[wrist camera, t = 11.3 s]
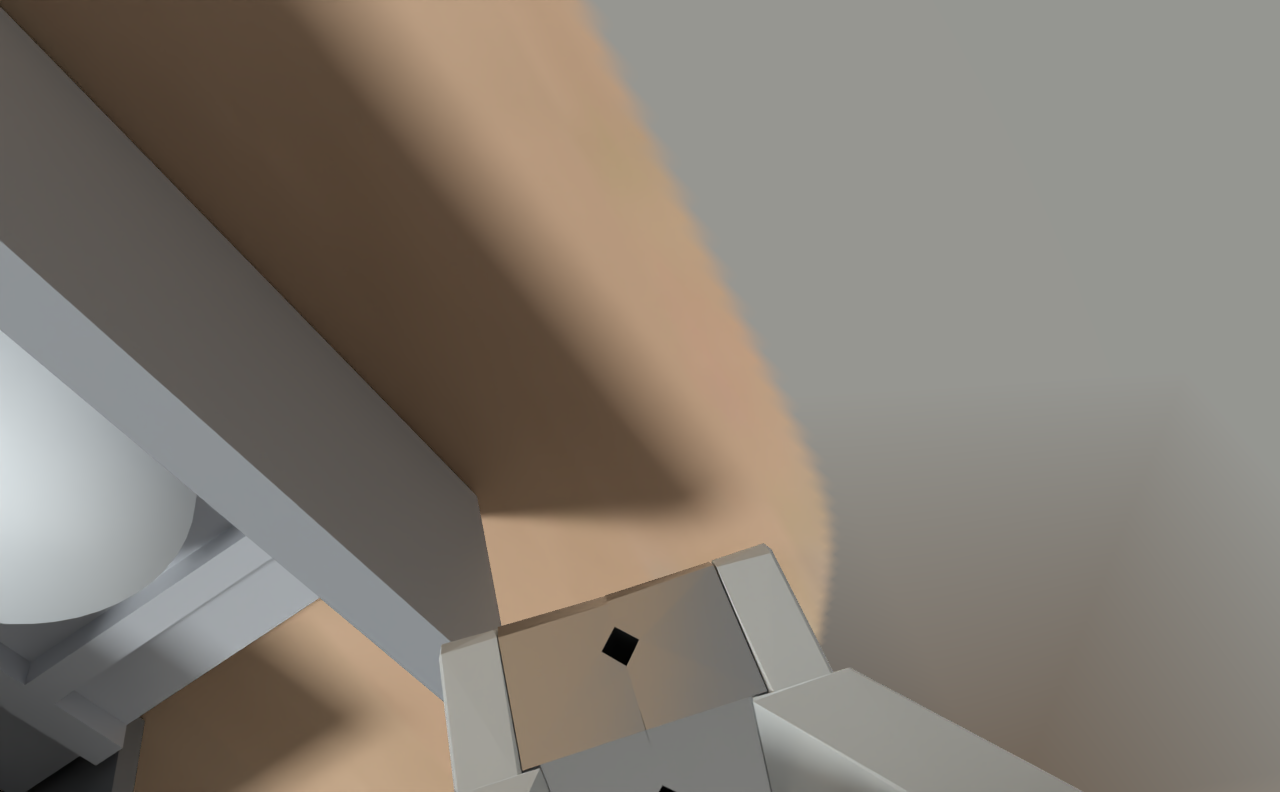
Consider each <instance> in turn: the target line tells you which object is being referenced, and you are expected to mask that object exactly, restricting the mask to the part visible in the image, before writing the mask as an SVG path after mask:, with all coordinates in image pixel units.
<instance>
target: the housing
mask: <svg viewBox="0 0 1280 792" xmlns="http://www.w3.org/2000/svg"><path fill="white" fill-rule="evenodd" d="M144 723H145V721H144V720H143V719H141V718H140V717H138V718H137V719H135V720H134V721H132V722H130V723H129V724H127V726H126V732H125V737H124V743H123V748H122V749H120V750H119V751H117V752H116V753H114V754H113V755H111V756H110V757H108V758H107V759H105V760H104V761H102V762H101V763H99V764H98V765H96V766H95V765H94V764H92V763H91V762H89V761H87V760H86V759H84V758H83V757H81V756H79V757H77V758H76V759H74V760H73V761H71V762H70V763H68V764H67V765H65V766H64V767H62V768H61V769H59V770H58V771H56V772H55V773H53V774H52V775H50V776H49V777H47V778H46V779H44V780H43V781H41V782H40V783H38V784H37V785H35V786H34V787H32V788H30V789H29V790H27V791H26V792H133V791H134V785H135V779H136V773H137V767H138V760H139V754H140V748H141V742H142V735H143V729H144ZM2 792H4V791H2Z"/></svg>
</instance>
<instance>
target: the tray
mask: <svg viewBox="0 0 1280 792" xmlns="http://www.w3.org/2000/svg"><path fill="white" fill-rule="evenodd" d="M0 330H1V331H2V332H3V333H5V334H6V335H7V336H8V337H9V338H11V339H12V340H13V341H14V342H15V343H16V344H18V345H19V346H20V347H21V348H22V349H24V350H25V351H26V352H27V353H28V354H30V355H31V356H32V357H33V358H34V359H36V360H37V361H38V362H39V363H40V364H42V365H43V366H44V367H45V368H46V369H47V370H49V371H50V372H51V373H52V374H53V375H55V376H56V377H57V378H58V379H59V380H61V381H62V382H63V383H64V384H65V385H67V386H68V387H69V388H70V389H71V390H73V391H74V392H75V393H76V394H77V395H78V396H80V397H81V398H82V399H83V400H84V401H86V402H87V403H88V404H89V405H90V406H92V407H93V408H94V409H95V410H96V411H98V412H99V413H100V414H101V415H102V416H104V417H105V418H106V419H107V420H108V421H110V422H111V423H112V424H113V425H114V426H115V427H117V428H118V429H119V430H120V431H121V432H123V433H124V434H125V435H126V436H127V437H129V438H130V439H131V440H132V441H133V442H135V443H136V444H137V445H138V446H139V447H141V448H142V449H143V450H144V451H145V452H146V453H148V454H149V455H150V456H151V457H152V458H154V459H155V460H156V461H157V462H158V463H160V464H161V465H162V466H163V467H164V468H166V469H167V470H168V471H169V472H170V473H172V474H173V475H174V476H175V477H176V478H177V479H179V480H180V481H181V482H182V483H183V484H185V485H186V486H187V487H188V488H189V489H191V490H192V491H193V492H194V493H195V494H197V497H196V503H195V509H194V515H193V520H192V524H191V527H190V530H189V532H188V535H187V538H186V540H185V542H184V544H183V545H182V547H181V549H180V551H179V552H178V554H177V555H176V557H175V558H174V559H173V561H172V562H171V563H170V564H169V566H168V567H167V568H166V569H165V570H164V571H163V572H162V573H161V574H160V575H159V576H158V577H157V578H156V579H155V580H154V581H153V582H151V583H150V584H149V585H147V586H146V587H144V588H143V589H142V590H140V591H139V592H138V593H136V594H134V595H132V596H131V597H129V598H127V599H125V600H123V601H122V602H120V603H118V604H115V605H113V606H110V607H108V608H106V609H103V610H101V611H98V612H95V613H91V614H88V615H85V616H81V617H78V618H72V619H67V620H62V621H57V622H47V623H37V624H3V623H0V789H1V790H3V791H4V792H26V791H27V790H29V789H30V788H32V787H34V786H35V785H37V784H38V783H40V782H41V781H43V780H44V779H46V778H47V777H49V776H50V775H52V774H53V773H55V772H56V771H58V770H59V769H61V768H62V767H64V766H65V765H67V764H68V763H70V762H71V761H73V760H74V759H76V758H77V757H79V756H81V757H83V758H84V759H86V760H87V761H89V762H91V763H92V764H94V765H95V766H96V765H98V764H99V763H101V762H102V761H104V760H105V759H107V758H108V757H110V756H111V755H113V754H114V753H116V752H117V751H119V750H120V749H122V748H123V743H124V737H125V732H126V726H127V724H129V723H130V722H132V721H134V720H135V719H137V718H138V717H140V716H141V715H143V714H144V713H146V712H147V711H149V710H150V709H152V708H153V707H155V706H156V705H158V704H159V703H161V702H162V701H164V700H165V699H167V698H168V697H170V696H171V695H173V694H174V693H176V692H177V691H179V690H180V689H182V688H183V687H185V686H187V685H188V684H190V683H191V682H193V681H194V680H196V679H197V678H199V677H200V676H202V675H203V674H205V673H206V672H208V671H209V670H211V669H212V668H214V667H215V666H217V665H218V664H220V663H221V662H223V661H224V660H226V659H227V658H229V657H230V656H232V655H233V654H235V653H237V652H238V651H240V650H241V649H243V648H244V647H246V646H247V645H249V644H250V643H252V642H253V641H255V640H256V639H258V638H259V637H261V636H262V635H264V634H265V633H267V632H268V631H270V630H271V629H273V628H274V627H276V626H277V625H279V624H280V623H282V622H283V621H285V620H287V619H288V618H290V617H291V616H293V615H294V614H296V613H297V612H299V611H300V610H302V609H303V608H305V607H306V606H308V605H309V604H311V603H312V602H314V601H315V600H317V599H318V598H321V599H322V600H323V601H324V602H325V603H327V604H328V605H329V606H330V607H331V608H333V609H334V610H335V611H336V612H337V613H339V614H340V615H341V616H342V617H343V618H344V619H346V620H347V621H348V622H349V623H350V624H352V625H353V626H354V627H355V628H356V629H358V630H359V631H360V632H361V633H362V634H364V635H365V636H366V637H367V638H368V639H370V640H371V641H372V642H373V643H374V644H376V645H377V646H378V647H379V648H380V649H381V650H383V651H384V652H385V653H386V654H387V655H389V656H390V657H391V658H392V659H393V660H395V661H396V662H397V663H398V664H399V665H401V666H402V667H403V668H404V669H405V670H407V671H408V672H409V673H410V674H411V675H412V676H414V677H415V678H416V679H417V680H418V681H420V682H421V683H422V684H423V685H424V686H426V687H427V688H428V689H429V690H430V691H432V692H433V693H434V694H435V695H436V696H438V697H439V698H440V699H441V700H442V701H443V702H444V699H443V690H442V682H441V673H440V665H439V655H440V650H441V645H442V644H445V643H449V642H452V641H456V640H459V639H463V638H466V637H470V636H474V635H477V634H481V633H484V632H488V631H491V630H495V629H498V627H500V626H501V621H500V616H499V610H498V605H497V600H496V594H495V589H494V584H493V578H492V573H491V568H490V562H489V557H488V552H487V547H486V541H485V536H484V531H483V525H482V520H481V515H480V509H479V504H478V499H477V496H476V495H475V494H474V493H473V492H472V491H471V490H470V489H469V488H468V487H467V486H466V484H465V483H464V482H463V481H462V480H461V479H460V478H459V477H458V476H457V475H456V474H455V473H454V472H453V471H452V470H451V469H450V468H449V467H448V466H447V465H446V464H445V463H444V462H443V461H442V460H441V459H440V458H439V457H438V456H437V455H436V454H435V453H434V452H433V451H432V450H431V449H430V448H429V446H428V445H427V444H426V443H425V442H424V441H423V440H422V439H421V438H420V437H419V436H418V435H417V434H416V433H415V432H414V431H413V430H412V429H411V428H410V427H409V426H408V425H407V424H406V423H405V422H404V421H403V420H402V419H401V418H400V417H399V416H398V415H397V414H396V413H395V412H394V411H393V410H392V408H391V407H390V406H389V405H388V404H387V403H386V402H385V401H384V400H383V399H382V398H381V397H380V396H379V395H378V394H377V393H376V392H375V391H374V390H373V389H372V388H371V387H370V386H369V385H368V384H367V383H366V382H365V381H364V380H363V379H362V378H361V377H360V376H359V375H358V374H357V373H356V372H355V370H354V369H353V368H352V367H351V366H350V365H349V364H348V363H347V362H346V361H345V360H344V359H343V358H342V357H341V356H340V355H339V354H338V353H337V352H336V351H335V350H334V349H333V348H332V347H331V346H330V345H329V344H328V343H327V342H326V341H325V340H324V339H323V338H322V337H321V336H320V335H319V334H318V332H317V331H316V330H315V329H314V328H313V327H312V326H311V325H310V324H309V323H308V322H307V321H306V320H305V319H304V318H303V317H302V316H301V315H300V314H299V313H298V312H297V311H296V310H295V309H294V308H293V307H292V306H291V305H290V304H289V303H288V302H287V301H286V300H285V299H284V298H283V297H282V296H281V295H280V293H279V292H278V291H277V290H276V289H275V288H274V287H273V286H272V285H271V284H270V283H269V282H268V281H267V280H266V279H265V278H264V277H263V276H262V275H261V274H260V273H259V272H258V271H257V270H256V269H255V268H254V267H253V266H252V265H251V264H250V263H249V262H248V261H247V260H246V259H245V258H244V257H243V255H242V254H241V253H240V252H239V251H238V250H237V249H236V248H235V247H234V246H233V245H232V244H231V243H230V242H229V241H228V240H227V239H226V238H225V237H224V236H223V235H222V234H221V233H220V232H219V231H218V230H217V229H216V228H215V227H214V226H213V225H212V224H211V223H210V222H209V221H208V220H207V219H206V217H205V216H204V215H203V214H202V213H201V212H200V211H199V210H198V209H197V208H196V207H195V206H194V205H193V204H192V203H191V202H190V201H189V200H188V199H187V198H186V197H185V196H184V195H183V194H182V193H181V192H180V191H179V190H178V189H177V188H176V187H175V186H174V185H173V184H172V183H171V182H170V181H169V179H168V178H167V177H166V176H165V175H164V174H163V173H162V172H161V171H160V170H159V169H158V168H157V167H156V166H155V165H154V164H153V163H152V162H151V161H150V160H149V159H148V158H147V157H146V156H145V155H144V154H143V153H142V152H141V151H140V150H139V149H138V148H137V147H136V146H135V145H134V144H133V143H132V141H131V140H130V139H129V138H128V137H127V136H126V135H125V134H124V133H123V132H122V131H121V130H120V129H119V128H118V127H117V126H116V125H115V124H114V123H113V122H112V121H111V120H110V119H109V118H108V117H107V116H106V115H105V114H104V113H103V112H102V111H101V110H100V109H99V108H98V107H97V106H96V105H95V103H94V102H93V101H92V100H91V99H90V98H89V97H88V96H87V95H86V94H85V93H84V92H83V91H82V90H81V89H80V88H79V87H78V86H77V85H76V84H75V83H74V82H73V81H72V80H71V79H70V78H69V77H68V76H67V75H66V74H65V73H64V72H63V71H62V70H61V69H60V68H59V67H58V65H57V64H56V63H55V62H54V61H53V60H52V59H51V58H50V57H49V56H48V55H47V54H46V53H45V52H44V51H43V50H42V49H41V48H40V47H39V46H38V45H37V44H36V43H35V42H34V41H33V40H32V39H31V38H30V37H29V36H28V35H27V34H26V33H25V32H24V31H23V30H22V29H21V27H20V26H19V25H18V24H17V23H16V22H15V21H14V20H13V19H12V18H11V17H10V16H9V15H8V14H7V13H6V12H5V11H4V10H3V9H2V8H1V7H0Z"/></svg>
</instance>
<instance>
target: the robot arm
mask: <svg viewBox="0 0 1280 792" xmlns="http://www.w3.org/2000/svg"><path fill="white" fill-rule="evenodd" d="M439 665H440V673H441V682H442V690H443V699H444V707H445V715H446V724H447V732H448V741H449V749H450V758H451V766H452V775H453V783H454V792H1083V791H1081V790H1079V789H1077V788H1075V787H1073V786H1071V785H1069V784H1068V783H1066V782H1064V781H1062V780H1060V779H1058V778H1056V777H1055V776H1053V775H1051V774H1049V773H1047V772H1045V771H1043V770H1042V769H1040V768H1038V767H1036V766H1034V765H1032V764H1030V763H1028V762H1027V761H1025V760H1023V759H1021V758H1019V757H1017V756H1015V755H1013V754H1011V753H1010V752H1008V751H1006V750H1004V749H1002V748H1000V747H998V746H996V745H995V744H993V743H991V742H989V741H987V740H985V739H983V738H982V737H980V736H978V735H976V734H974V733H972V732H970V731H968V730H966V729H964V728H963V727H961V726H959V725H957V724H955V723H953V722H952V721H950V720H948V719H946V718H944V717H942V716H940V715H938V714H937V713H935V712H933V711H931V710H929V709H927V708H925V707H923V706H921V705H919V704H918V703H916V702H914V701H912V700H910V699H908V698H906V697H905V696H903V695H901V694H899V693H897V692H895V691H893V690H891V689H889V688H888V687H886V686H884V685H882V684H880V683H878V682H876V681H875V680H873V679H871V678H869V677H867V676H865V675H863V674H861V673H859V672H858V671H856V670H854V669H852V668H846V669H843V670H840V671H836V672H833V670H832V668H831V666H830V664H829V662H828V660H827V658H826V656H825V654H824V652H823V650H822V648H821V646H820V644H819V642H818V640H817V638H816V636H815V635H814V633H813V631H812V629H811V627H810V625H809V623H808V621H807V619H806V617H805V615H804V613H803V611H802V609H801V607H800V605H799V603H798V601H797V599H796V597H795V595H794V593H793V591H792V589H791V587H790V585H789V583H788V581H787V579H786V577H785V575H784V573H783V571H782V569H781V567H780V565H779V563H778V562H777V560H776V558H775V556H774V554H773V552H772V550H771V549H770V548H769V547H768V546H766V545H765V544H764V543H763V544H760V545H757V546H754V547H751V548H748V549H745V550H742V551H739V552H736V553H733V554H730V555H727V556H724V557H721V558H718V559H715V560H712V563H710V562H707V563H704V564H701V565H698V566H695V567H692V568H689V569H686V570H682V571H679V572H676V573H673V574H670V575H667V576H664V577H661V578H658V579H655V580H652V581H648V582H645V583H642V584H639V585H636V586H633V587H630V588H627V589H624V590H621V591H618V592H615V593H611V594H608V595H605V596H604V597H600V598H597V599H593V600H590V601H586V602H583V603H580V604H576V605H573V606H569V607H566V608H562V609H559V610H555V611H552V612H548V613H545V614H541V615H538V616H535V617H531V618H528V619H524V620H521V621H517V622H514V623H510V624H507V625H503V626H500V627H498V629H495V630H491V631H488V632H484V633H481V634H477V635H474V636H470V637H466V638H463V639H459V640H456V641H452V642H449V643H445V644H442V645H441V650H440V655H439Z"/></svg>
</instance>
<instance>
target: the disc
mask: <svg viewBox="0 0 1280 792" xmlns="http://www.w3.org/2000/svg"><path fill="white" fill-rule="evenodd" d="M196 497H197V494H195V493H194V492H193V491H192V490H191V489H189V488H188V487H187V486H186V485H185V484H183V483H182V482H181V481H180V480H179V479H177V478H176V477H175V476H174V475H173V474H172V473H170V472H169V471H168V470H167V469H166V468H164V467H163V466H162V465H161V464H160V463H158V462H157V461H156V460H155V459H154V458H152V457H151V456H150V455H149V454H148V453H146V452H145V451H144V450H143V449H142V448H141V447H139V446H138V445H137V444H136V443H135V442H133V441H132V440H131V439H130V438H129V437H127V436H126V435H125V434H124V433H123V432H121V431H120V430H119V429H118V428H117V427H115V426H114V425H113V424H112V423H111V422H110V421H108V420H107V419H106V418H105V417H104V416H102V415H101V414H100V413H99V412H98V411H96V410H95V409H94V408H93V407H92V406H90V405H89V404H88V403H87V402H86V401H84V400H83V399H82V398H81V397H80V396H78V395H77V394H76V393H75V392H74V391H73V390H71V389H70V388H69V387H68V386H67V385H65V384H64V383H63V382H62V381H61V380H59V379H58V378H57V377H56V376H55V375H53V374H52V373H51V372H50V371H49V370H47V369H46V368H45V367H44V366H43V365H42V364H40V363H39V362H38V361H37V360H36V359H34V358H33V357H32V356H31V355H30V354H28V353H27V352H26V351H25V350H24V349H22V348H21V347H20V346H19V345H18V344H16V343H15V342H14V341H13V340H12V339H11V338H9V337H8V336H7V335H6V334H5V333H3V332H2V331H1V330H0V623H3V624H37V623H47V622H57V621H62V620H67V619H72V618H78V617H81V616H85V615H88V614H91V613H95V612H98V611H101V610H103V609H106V608H108V607H110V606H113V605H115V604H118V603H120V602H122V601H123V600H125V599H127V598H129V597H131V596H132V595H134V594H136V593H138V592H139V591H140V590H142V589H143V588H144V587H146V586H147V585H149V584H150V583H151V582H153V581H154V580H155V579H156V578H157V577H158V576H159V575H160V574H161V573H162V572H163V571H164V570H165V569H166V568H167V567H168V566H169V564H170V563H171V562H172V561H173V559H174V558H175V557H176V555H177V554H178V552H179V551H180V549H181V547H182V545H183V544H184V542H185V540H186V538H187V535H188V532H189V530H190V527H191V524H192V520H193V515H194V509H195V503H196Z"/></svg>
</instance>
